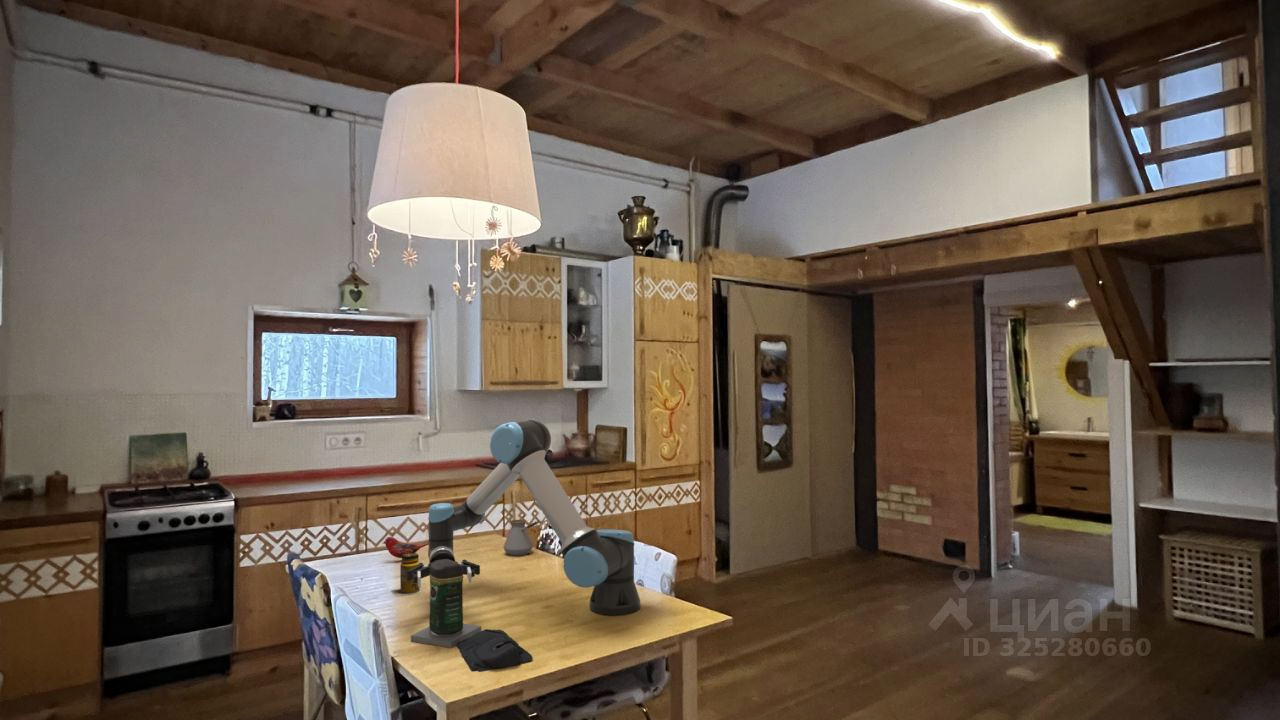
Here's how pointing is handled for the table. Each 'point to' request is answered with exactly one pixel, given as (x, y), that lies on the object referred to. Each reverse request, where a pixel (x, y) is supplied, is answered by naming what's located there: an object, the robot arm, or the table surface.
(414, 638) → the plate
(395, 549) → the decorative bird figurine
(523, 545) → the coffee pot
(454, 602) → the coffee jar
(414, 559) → the condiment
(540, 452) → the robot arm
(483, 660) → the folded black cloth
